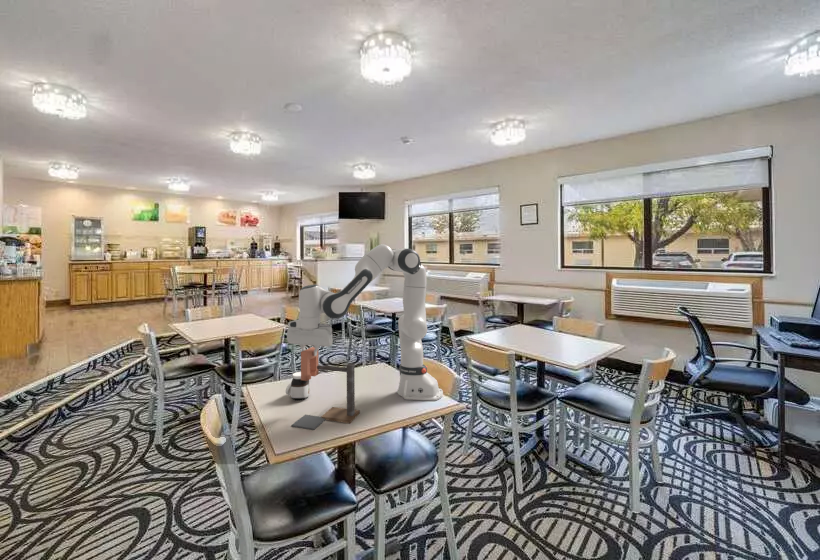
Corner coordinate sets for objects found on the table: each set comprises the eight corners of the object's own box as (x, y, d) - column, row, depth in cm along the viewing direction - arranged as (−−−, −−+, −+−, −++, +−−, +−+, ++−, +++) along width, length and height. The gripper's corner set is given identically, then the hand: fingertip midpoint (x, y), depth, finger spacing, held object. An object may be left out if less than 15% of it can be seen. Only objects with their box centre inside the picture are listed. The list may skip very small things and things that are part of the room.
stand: (360, 413, 154) (359, 361, 153) (350, 423, 145) (349, 368, 143) (324, 408, 159) (323, 358, 158) (312, 418, 149) (311, 365, 148)
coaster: (326, 418, 149) (326, 417, 149) (313, 429, 139) (313, 428, 139) (305, 415, 151) (305, 414, 151) (291, 426, 142) (291, 425, 142)
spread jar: (305, 402, 166) (305, 377, 165) (280, 402, 166) (280, 377, 165) (312, 392, 178) (312, 369, 177) (289, 392, 178) (289, 369, 177)
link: (318, 374, 158) (318, 347, 157) (307, 381, 149) (307, 352, 149) (312, 373, 159) (312, 346, 158) (300, 380, 150) (300, 351, 149)
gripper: (335, 323, 153) (335, 355, 154) (293, 320, 158) (293, 351, 159) (328, 325, 147) (328, 359, 148) (284, 322, 152) (284, 355, 153)
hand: (309, 355), depth 153 cm, fingers closed on link, 3 cm apart
